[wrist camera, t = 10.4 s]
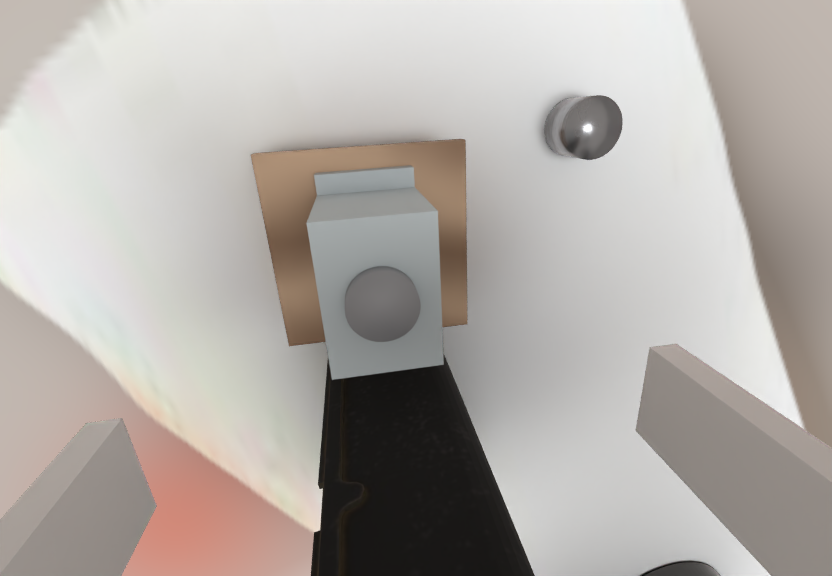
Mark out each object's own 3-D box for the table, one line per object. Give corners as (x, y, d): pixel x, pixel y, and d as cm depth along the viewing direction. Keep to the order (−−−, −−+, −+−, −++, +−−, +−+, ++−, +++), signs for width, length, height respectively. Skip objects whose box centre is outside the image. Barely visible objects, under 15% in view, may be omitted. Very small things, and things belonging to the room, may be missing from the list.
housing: (420, 316, 26) (448, 393, 19) (338, 326, 25) (334, 409, 18) (410, 165, 22) (441, 187, 15) (315, 172, 22) (299, 199, 14)
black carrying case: (315, 328, 30) (218, 971, 8) (430, 299, 31) (666, 818, 8) (367, 481, 37) (400, 1087, 14) (462, 455, 37) (646, 996, 14)
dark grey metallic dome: (592, 153, 29) (618, 157, 26) (542, 157, 28) (563, 161, 26) (598, 96, 27) (626, 93, 25) (545, 99, 27) (568, 97, 24)
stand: (449, 293, 31) (467, 324, 26) (298, 310, 30) (289, 346, 25) (445, 135, 27) (465, 139, 22) (268, 148, 25) (250, 154, 21)
